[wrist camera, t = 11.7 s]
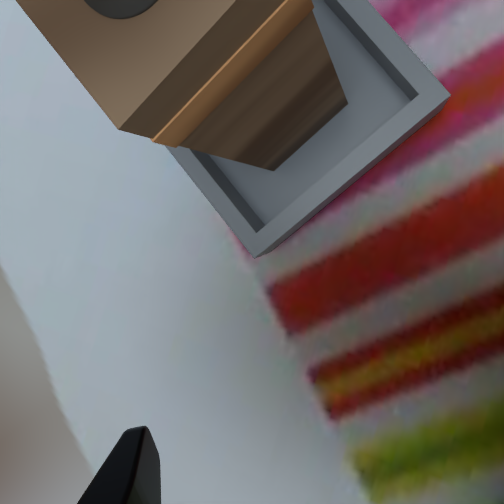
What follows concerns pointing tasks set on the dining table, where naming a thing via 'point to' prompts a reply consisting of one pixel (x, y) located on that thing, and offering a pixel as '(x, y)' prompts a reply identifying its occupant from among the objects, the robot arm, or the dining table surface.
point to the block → (201, 70)
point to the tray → (327, 131)
